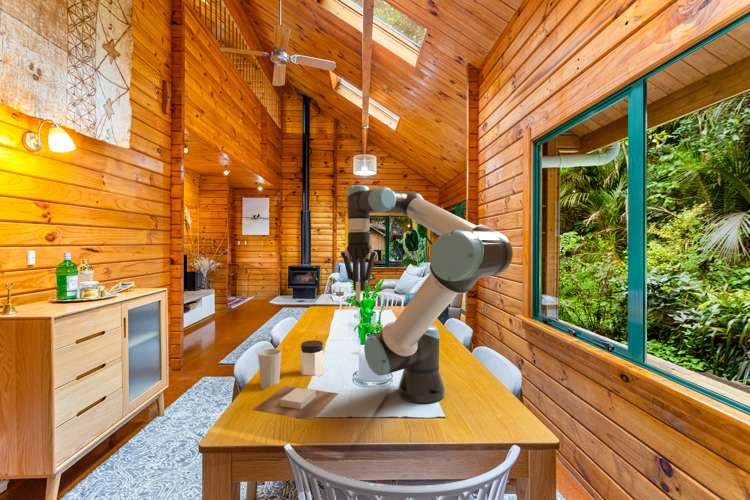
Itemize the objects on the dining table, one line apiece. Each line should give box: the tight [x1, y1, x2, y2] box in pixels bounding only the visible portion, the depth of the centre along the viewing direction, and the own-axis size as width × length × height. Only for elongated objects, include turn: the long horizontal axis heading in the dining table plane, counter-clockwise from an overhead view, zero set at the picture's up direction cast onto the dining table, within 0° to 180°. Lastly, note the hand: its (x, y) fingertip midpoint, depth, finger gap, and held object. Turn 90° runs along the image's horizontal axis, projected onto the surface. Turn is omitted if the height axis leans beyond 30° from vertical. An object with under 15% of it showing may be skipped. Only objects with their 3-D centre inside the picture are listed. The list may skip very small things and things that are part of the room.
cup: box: [257, 348, 282, 390], centre depth 124 cm, size 8×8×12 cm
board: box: [251, 385, 339, 421], centre depth 110 cm, size 20×18×1 cm
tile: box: [280, 387, 317, 409], centre depth 109 cm, size 2×9×7 cm
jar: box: [300, 339, 325, 378], centre depth 135 cm, size 9×8×12 cm
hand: (359, 300), depth 121 cm, fingers closed
